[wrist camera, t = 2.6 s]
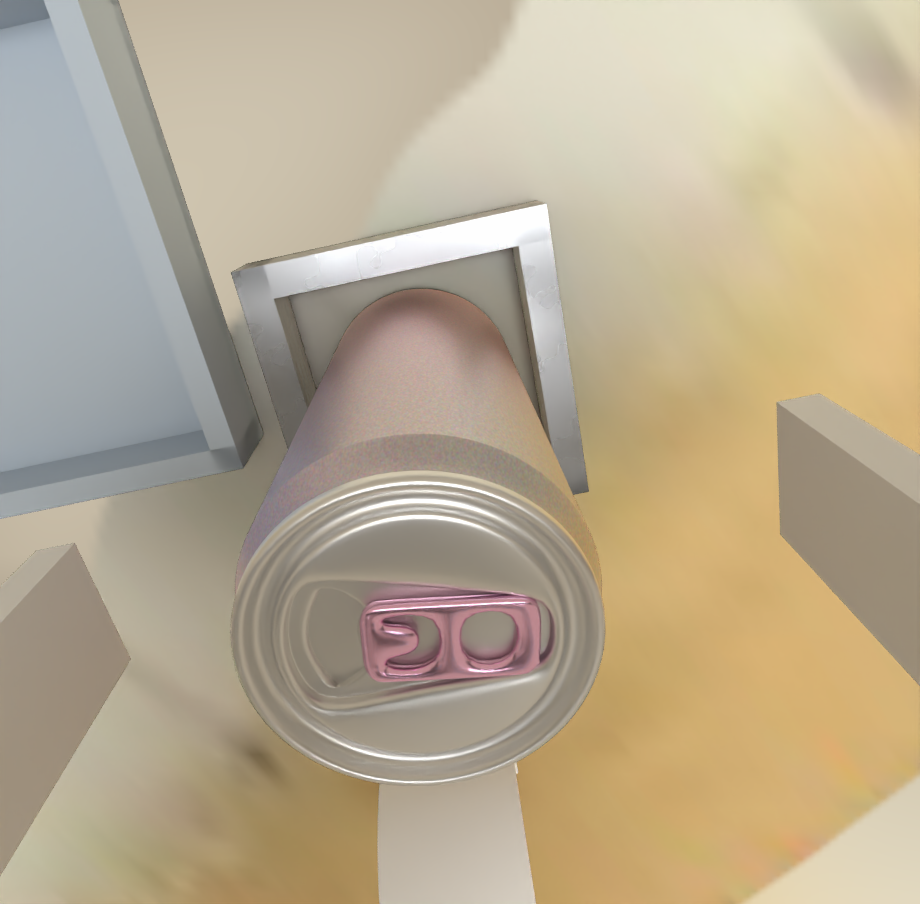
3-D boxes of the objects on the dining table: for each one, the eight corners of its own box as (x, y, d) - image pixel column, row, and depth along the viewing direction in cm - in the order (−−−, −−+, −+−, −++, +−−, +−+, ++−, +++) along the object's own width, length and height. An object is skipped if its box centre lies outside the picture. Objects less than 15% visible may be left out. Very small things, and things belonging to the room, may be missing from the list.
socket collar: (326, 519, 26) (319, 546, 24) (246, 263, 23) (230, 272, 21) (577, 468, 26) (589, 491, 24) (536, 200, 22) (546, 203, 20)
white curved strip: (414, 774, 31) (407, 1110, 20) (387, 666, 29) (363, 978, 18) (516, 758, 31) (566, 1087, 20) (498, 648, 29) (543, 950, 18)
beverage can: (509, 448, 26) (609, 786, 12) (344, 456, 25) (247, 809, 11) (508, 281, 23) (631, 454, 9) (327, 288, 23) (180, 475, 9)
